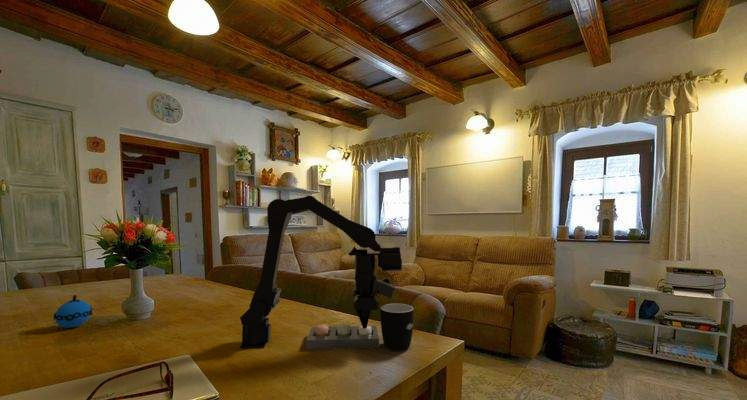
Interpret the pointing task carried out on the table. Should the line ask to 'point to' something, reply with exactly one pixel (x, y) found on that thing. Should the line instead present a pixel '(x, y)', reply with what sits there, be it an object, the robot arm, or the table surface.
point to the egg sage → (343, 329)
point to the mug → (397, 326)
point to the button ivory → (365, 330)
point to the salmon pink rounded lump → (321, 330)
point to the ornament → (72, 313)
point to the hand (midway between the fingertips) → (364, 327)
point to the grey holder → (342, 339)
